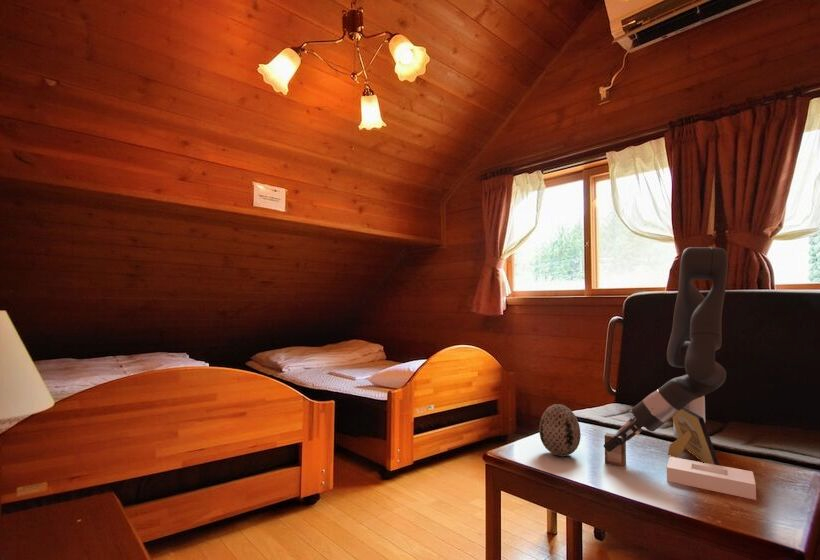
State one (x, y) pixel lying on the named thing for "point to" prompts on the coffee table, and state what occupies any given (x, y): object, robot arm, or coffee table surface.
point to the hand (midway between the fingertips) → (608, 446)
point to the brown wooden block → (615, 453)
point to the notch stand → (712, 477)
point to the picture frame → (692, 437)
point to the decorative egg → (559, 430)
